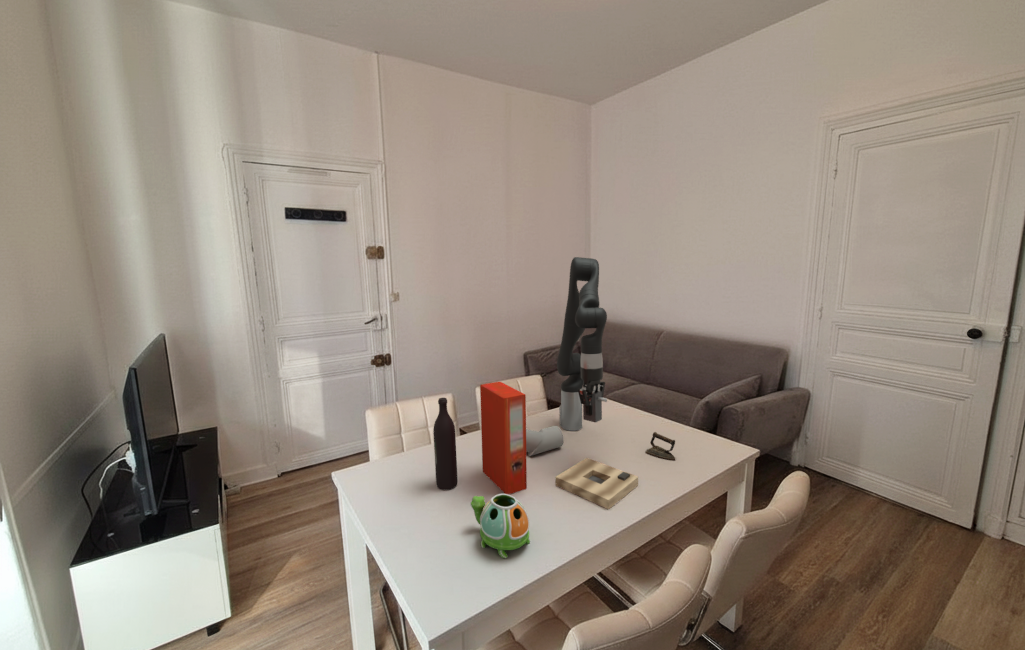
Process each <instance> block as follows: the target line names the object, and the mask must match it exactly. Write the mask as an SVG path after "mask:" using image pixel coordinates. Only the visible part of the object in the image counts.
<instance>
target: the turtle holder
mask: <svg viewBox="0 0 1025 650" xmlns="http://www.w3.org/2000/svg"><path fill="white" fill-rule="evenodd" d="M470 506H471V509H472V510H473V512H474V516H475V520H476V521H477V523H478V524H479V525H480V530H479V535H480V538H481V542H480V546H481V548H483V549H485V548H486V547H487V546H489V547H490V548H493V549H496V550H497V553H498V555H499V557H500V558H501V559H507V558H508V554H507V552H506V551H513V550H518V549H519V548H521V547H522V546H524V545H526V544H530V543H531V541H530V539H529V538H530V530H529V529H530V519H529V515H528V512H527V510H526V508H525V506H524V505H523V504H522V503H521V502H520V501H519V500H518V499H517V498H516V497H514V496H513V495H512V494H509V495H508V494H504V493H497V494H496V495H493V496H492V497H491V498H490V500H489V501H487V503H486V502H485V497H484V496H483V495H479V496H478V495H474V496H473V497H472V499H471V502H470Z"/></svg>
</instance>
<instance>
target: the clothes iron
mask: <svg viewBox="0 0 1025 650" xmlns="http://www.w3.org/2000/svg"><path fill="white" fill-rule="evenodd" d="M655 439H658V440H661V441H663V442H665V443H667V444H670V445H671V446H670V449H665V448H664V447H661V446H659V445H656V444H655V443H654V441H655ZM649 444H650V445H651V446H652V447H650V448H648V449H646V450H645V452H644V453H645V454H647V455H649V456H651V457H655V458H657V459H660V460H665V461H670V462H671V461H673V462H675V461H676V457H675V456H674V455H673V454H672V451H673V449H674V447H675V445H676V439H671V438H668V437H666V436H664V435H662V434H659V433H657V432H656V431H654V432H653V433H652V438H651V439H650V443H649Z"/></svg>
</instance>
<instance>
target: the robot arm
mask: <svg viewBox="0 0 1025 650" xmlns="http://www.w3.org/2000/svg"><path fill="white" fill-rule="evenodd" d="M569 268H570V269H569V280H568V282H569V283H568V294H567V301H566V309H565V313H564V321H563V330H562V337H561V343H560V345H559V351H558V355H557V360H556V367H557V372H558V374H559V375H560V376H562V377H567V378H566V379H565V380H563V381H562V382H561V383H560V391H561V393H560V397H561V398H560V399H561V400H560V401H561V402H560V403H561V404H560V405H559V406H558V407H559V427H561V428H562V429H563V430H565V431H570V432H571V431H579V430H581V429H582V428H583V404H585V414H586V415H588V416H591V415H592V399H593V394H594V392H599V391H601V392H602V398H604V394H605V393H604V392H605V386H606V381H601V380H603V379H604V369H603V368H604V363H603V361H604V359H603V346H602V345H603V335H604V330H605V327H606V324H607V320H608V314H607V313H608V312H607V311H606V310H605V308H603V307H600V297H599V282H600V281H599V280H600V263H599V261H598V260H597V259H596V258H589V257H580V256H578V257H577V256H576V257H575V256H574V257H573V258H572V260H571V263H570V267H569ZM578 281H579V282H586V283H585V284H584V285H583V286H582V287H581V288H580V290H579V289H578V288H579V287H578ZM586 329H595V331H593V333H591V334H590V333H589V334H586V335H583V334H584V332H585V330H586ZM582 335H583V336H582ZM581 336H582V337H581ZM579 340H580V353H579V352H573V351H574V348H575V345H576V344H577V342H578V341H579ZM587 394H588V395H591V396H587ZM588 398H589V402H588ZM583 399H584V400H583Z"/></svg>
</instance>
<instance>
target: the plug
mask: <svg viewBox="0 0 1025 650" xmlns="http://www.w3.org/2000/svg"><path fill="white" fill-rule="evenodd" d="M587 396H591V395H588V394H587ZM583 400H584V399H583ZM607 401H608V398H607V397H603V398H602V392H601V391H599V392H594V394H593V399H592V415H591V416H588V415H586V414H585V404H582V421H588V422H591V423H598V422H600V421H602V420H603V414H602V413H603V411H602V409H603V408H602V404H603V403H602V402H604V403H607ZM588 402H589V398H588Z"/></svg>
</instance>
